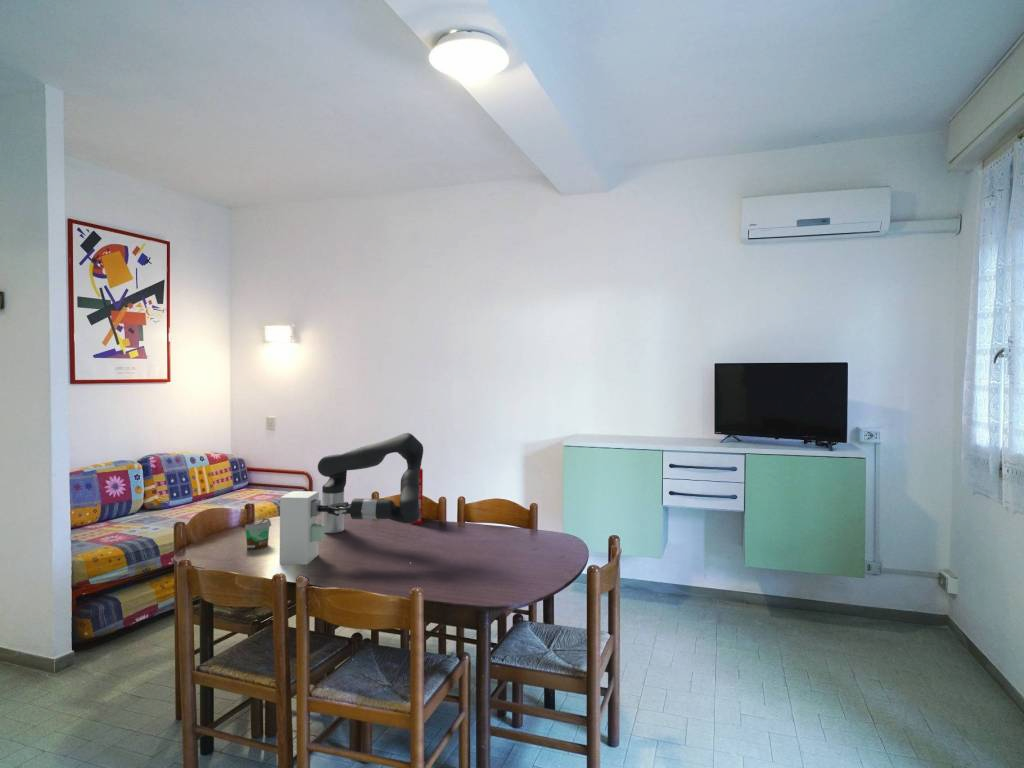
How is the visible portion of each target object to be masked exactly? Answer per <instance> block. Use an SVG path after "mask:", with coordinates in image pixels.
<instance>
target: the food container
mask: <svg viewBox="0 0 1024 768" xmlns="http://www.w3.org/2000/svg"><path fill="white" fill-rule="evenodd" d="M271 527H272V521H271V520H270V518H265V517H263V518H262V520H261V521H257V522H256V521H255V522H253V523H252V524H251V523H250V524H245V526H244V530H245V533H246V534H245V535H246V536H245V537H246V550H251V551H252V550H262V549H265V548H267V547H268V546H269V537H270V536H269V535H270V528H271Z"/></svg>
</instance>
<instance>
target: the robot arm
mask: <svg viewBox="0 0 1024 768" xmlns="http://www.w3.org/2000/svg"><path fill="white" fill-rule="evenodd" d="M392 453H397V454H399V455H400V456H401V457H402V458H403V459H404V460H405V461H406V464H407V465H406V466H407V467H408V468H407V469H406V470H405V471H404V472H403V474H402V475H401V478H400V491H399V492H400V496H399V505H396V504H395V502H394V501H393V499H392V500H391V499H377V498H353V499H351V502H350V503H349V502H348V501H345V487H346V485H347V474H348V471H355V470H364V469H369V468H372V467H373V468H374V467H376V466H379V465H380V464H381V463H382V462H383V461H384V459H385V458H386V456H387V455H389V454H392ZM423 455H424V446H423V444H422V442H420V441H419V439H418V438H417V437H415V436H414V435H413V434H412V433H410V432H405V433H401V434H398V435H397V436H394V437H391V438H388V439H386V440H383V441H379V442H375V443H371V444H367V445H363V446H360V447H358V448H355V449H354V448H353V449H351V450H349V451H347V452H344V453H341V454H331V455H326V456H323V457H322V458H321V459H320V460H319V461H318V463H317V471H318V473H319V474H320V475H321V476H323V477H327V478H328V480H327V481H326V483H324V484H323V485H322V487H321V489H322V490H321V491H322V493H321V495H322V497H321V502H322V503H321V505H319V506H318V512H321V524H325V534H336V533H341V532H343V531H344V530H345V526H344V525H345V516H347V515H350V518H351V519H352V520H391V521H394V522H396V523H397V522H398V523H402V524H410V523H413V522H416V521H417V520H418V519H419V517H420V509H419V501H418V495H419V473H420V467H421V466H422V462H423V457H424V456H423ZM421 468H422V467H421Z"/></svg>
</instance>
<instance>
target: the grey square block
mask: <svg viewBox="0 0 1024 768" xmlns="http://www.w3.org/2000/svg"><path fill="white" fill-rule="evenodd" d="M321 502H322V499H319V500H313V501H311V516H314V517H316V516H318V515H322V512H318V506H319V505H322V503H321Z"/></svg>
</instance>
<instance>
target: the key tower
mask: <svg viewBox="0 0 1024 768" xmlns="http://www.w3.org/2000/svg"><path fill="white" fill-rule="evenodd" d="M319 493H320V492H319V491H309V490H308V491H301V490H300V491H297V490H296V491H295V490H293V491H290V492H288V493H286V494H284V495H282V496H280V498H279V565H308V564H310V563H311V562H312V561H313V560H314V559H315V558H317V557H318V555H319V541H310V526H312V525H313V524H319V515H320V514H319V515H318V516H316V517H314V516H311V501H313V500H320V496H319V495H320V494H319Z"/></svg>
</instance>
